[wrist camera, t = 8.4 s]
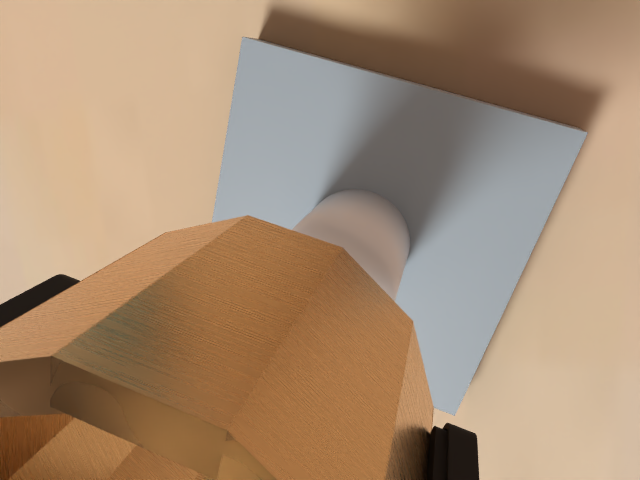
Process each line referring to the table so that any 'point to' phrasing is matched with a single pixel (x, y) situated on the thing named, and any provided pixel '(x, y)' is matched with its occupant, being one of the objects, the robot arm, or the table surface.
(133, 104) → the table surface
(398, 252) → the block
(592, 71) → the table surface
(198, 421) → the ring
